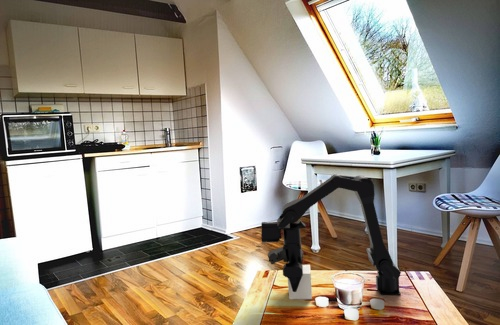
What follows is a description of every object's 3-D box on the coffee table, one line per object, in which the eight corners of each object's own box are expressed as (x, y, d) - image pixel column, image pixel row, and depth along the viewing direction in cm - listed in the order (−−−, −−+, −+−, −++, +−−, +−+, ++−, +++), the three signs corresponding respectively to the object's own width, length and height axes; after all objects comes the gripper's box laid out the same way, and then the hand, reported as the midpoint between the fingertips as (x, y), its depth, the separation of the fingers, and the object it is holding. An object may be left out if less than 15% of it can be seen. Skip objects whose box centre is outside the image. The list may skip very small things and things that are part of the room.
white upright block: (290, 289, 129) (288, 264, 128) (311, 288, 128) (310, 264, 127) (289, 299, 121) (287, 273, 120) (311, 299, 120) (310, 273, 119)
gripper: (271, 233, 133) (273, 274, 135) (265, 251, 115) (268, 298, 116) (301, 232, 131) (304, 274, 133) (301, 250, 113) (304, 298, 115)
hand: (295, 285), depth 124 cm, fingers open, 9 cm apart
